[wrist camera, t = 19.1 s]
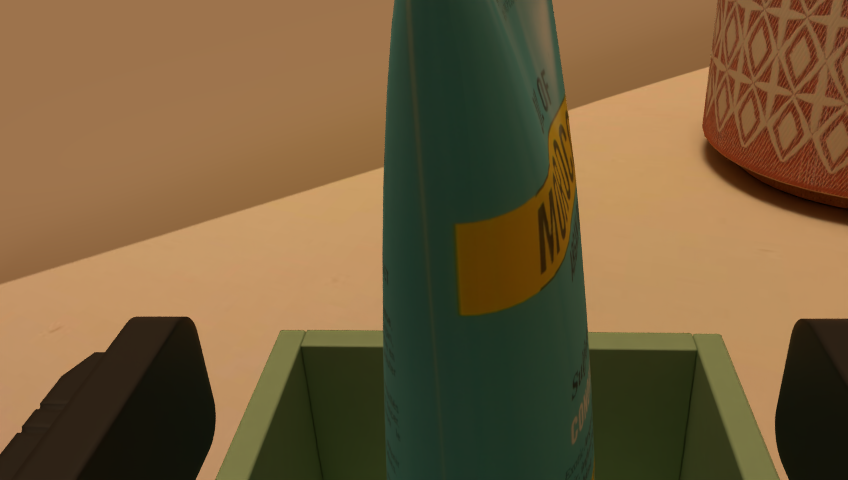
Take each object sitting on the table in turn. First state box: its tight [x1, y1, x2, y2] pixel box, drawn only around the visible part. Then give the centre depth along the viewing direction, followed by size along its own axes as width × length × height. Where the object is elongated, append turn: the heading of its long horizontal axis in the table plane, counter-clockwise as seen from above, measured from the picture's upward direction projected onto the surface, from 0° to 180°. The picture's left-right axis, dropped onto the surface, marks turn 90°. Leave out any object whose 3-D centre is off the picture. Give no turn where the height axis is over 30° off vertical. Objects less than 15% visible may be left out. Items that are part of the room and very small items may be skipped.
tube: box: [383, 0, 595, 480], centre depth 15 cm, size 7×5×19 cm, turn 173°
